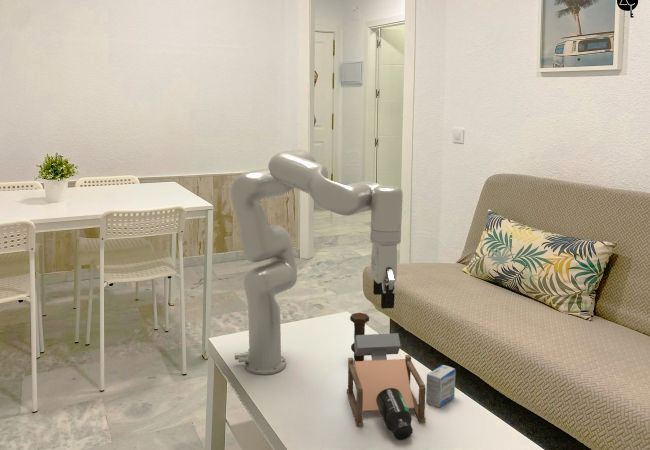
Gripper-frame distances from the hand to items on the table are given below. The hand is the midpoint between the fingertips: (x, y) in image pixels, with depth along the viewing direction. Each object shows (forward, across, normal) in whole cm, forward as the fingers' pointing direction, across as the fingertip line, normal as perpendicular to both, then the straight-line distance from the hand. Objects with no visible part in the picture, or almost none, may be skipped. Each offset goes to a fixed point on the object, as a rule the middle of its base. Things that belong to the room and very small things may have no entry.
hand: (383, 300), depth 152 cm
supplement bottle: (+24, +4, +1) cm, 25 cm away
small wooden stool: (+30, 0, +1) cm, 30 cm away
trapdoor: (+24, -6, +1) cm, 25 cm away
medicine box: (+30, -2, +17) cm, 35 cm away
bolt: (+31, -28, -1) cm, 42 cm away
